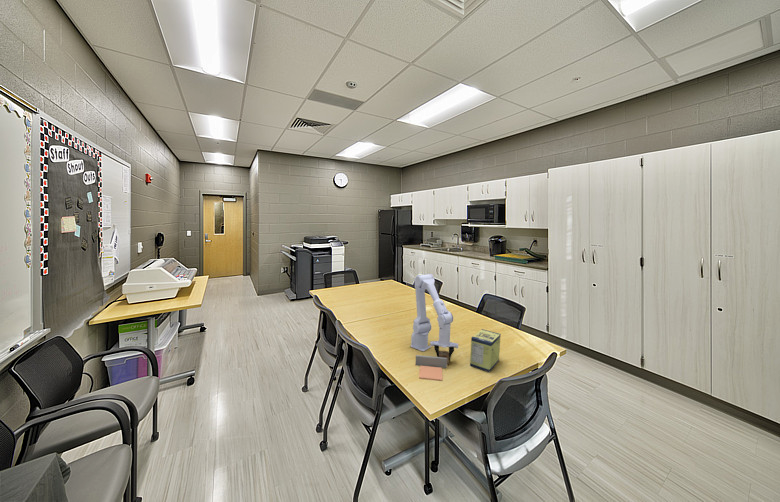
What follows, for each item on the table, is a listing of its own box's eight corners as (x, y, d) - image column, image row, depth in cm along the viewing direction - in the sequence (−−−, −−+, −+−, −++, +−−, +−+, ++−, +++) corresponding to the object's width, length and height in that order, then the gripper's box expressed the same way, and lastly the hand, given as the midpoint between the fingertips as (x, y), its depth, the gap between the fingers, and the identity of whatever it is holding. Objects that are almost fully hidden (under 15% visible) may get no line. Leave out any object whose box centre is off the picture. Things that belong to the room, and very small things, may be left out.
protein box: (499, 361, 153) (501, 333, 151) (489, 373, 141) (491, 343, 139) (480, 355, 159) (481, 328, 157) (469, 366, 147) (470, 337, 145)
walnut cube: (438, 364, 148) (439, 354, 148) (438, 359, 153) (438, 350, 153) (448, 364, 148) (448, 355, 147) (447, 360, 152) (448, 351, 152)
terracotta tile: (419, 378, 134) (419, 377, 134) (420, 366, 145) (420, 365, 145) (442, 380, 133) (442, 379, 133) (441, 368, 144) (441, 367, 144)
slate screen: (415, 365, 147) (415, 356, 146) (415, 364, 148) (415, 355, 147) (446, 368, 144) (447, 359, 144) (446, 367, 145) (447, 357, 145)
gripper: (430, 337, 146) (429, 362, 147) (459, 339, 144) (458, 364, 145) (430, 331, 153) (429, 355, 154) (458, 333, 151) (456, 358, 152)
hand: (443, 359), depth 150 cm, fingers closed on walnut cube, 5 cm apart
